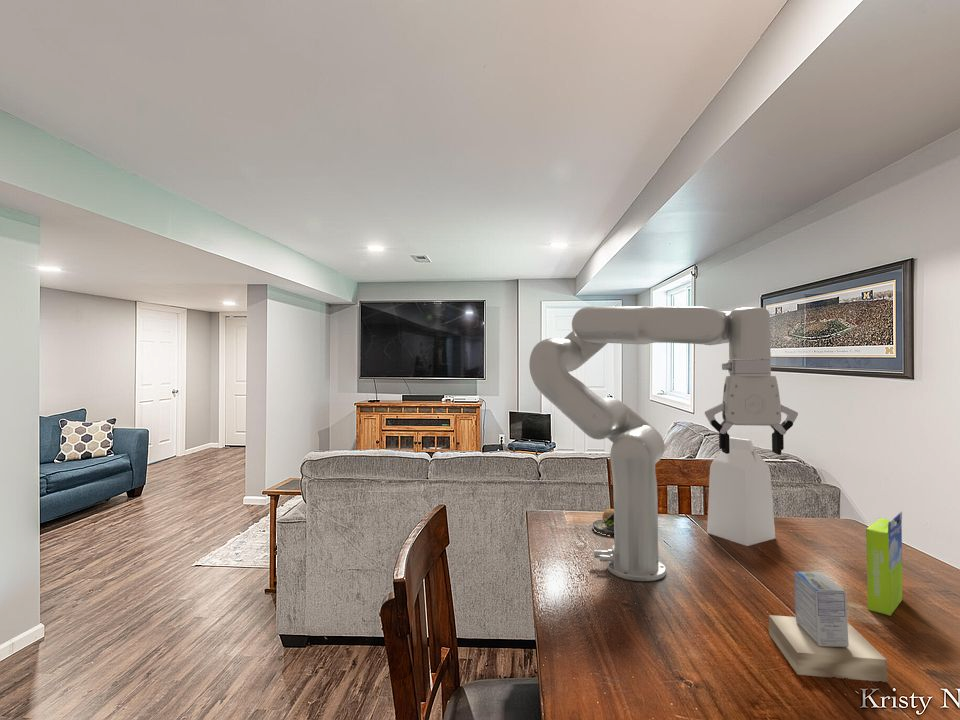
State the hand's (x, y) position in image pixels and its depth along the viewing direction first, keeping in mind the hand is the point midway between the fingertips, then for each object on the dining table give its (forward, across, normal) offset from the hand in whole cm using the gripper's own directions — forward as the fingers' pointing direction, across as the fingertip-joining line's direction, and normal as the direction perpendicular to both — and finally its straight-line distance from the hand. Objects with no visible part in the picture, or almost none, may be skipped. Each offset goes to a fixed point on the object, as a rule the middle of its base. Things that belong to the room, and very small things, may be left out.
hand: (750, 453), depth 108 cm
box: (+28, +23, -2) cm, 37 cm away
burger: (+29, -25, +37) cm, 53 cm away
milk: (+28, +8, +37) cm, 47 cm away
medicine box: (+25, +3, -23) cm, 34 cm away
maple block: (+29, +4, -23) cm, 37 cm away
